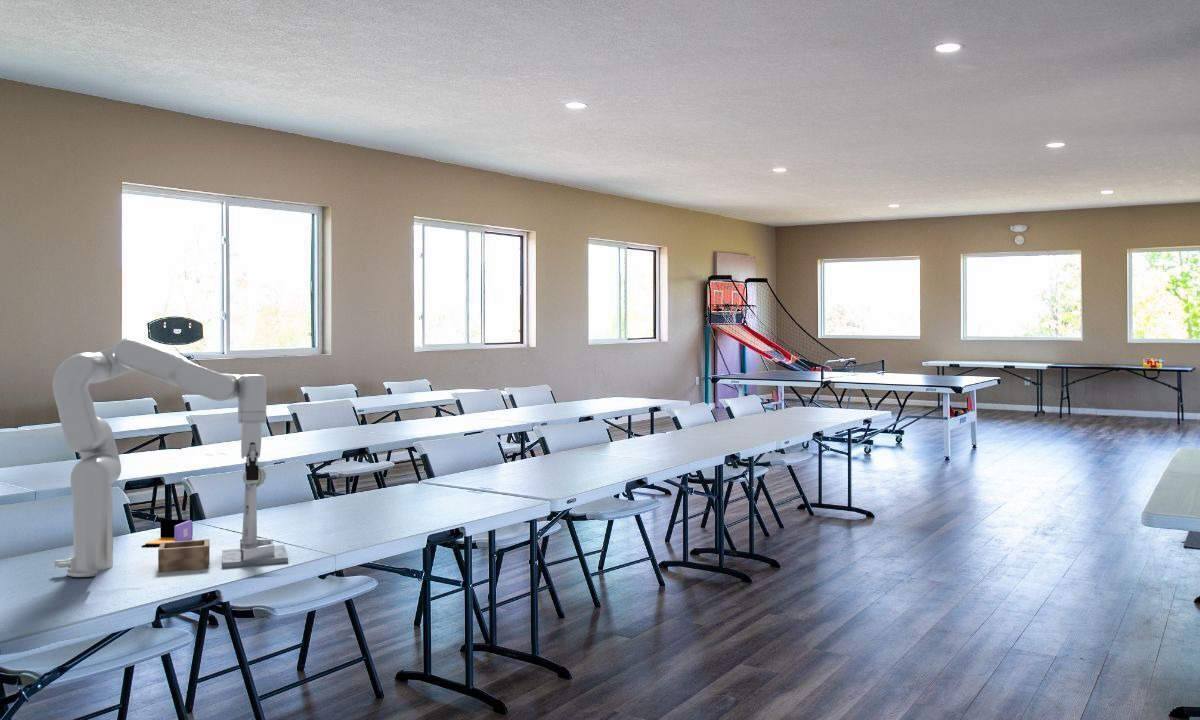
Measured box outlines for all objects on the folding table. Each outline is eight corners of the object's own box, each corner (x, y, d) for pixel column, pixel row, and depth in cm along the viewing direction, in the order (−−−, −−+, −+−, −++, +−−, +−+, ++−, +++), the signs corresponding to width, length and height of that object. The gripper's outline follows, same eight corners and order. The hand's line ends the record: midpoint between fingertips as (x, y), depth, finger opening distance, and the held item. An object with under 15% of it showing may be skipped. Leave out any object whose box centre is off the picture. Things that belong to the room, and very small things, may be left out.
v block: (221, 568, 245) (221, 551, 245) (222, 555, 262) (222, 539, 262) (288, 562, 252) (287, 546, 252) (284, 550, 269) (284, 535, 269)
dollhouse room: (197, 540, 285) (197, 518, 285) (179, 548, 273) (178, 525, 273) (160, 540, 285) (160, 518, 285) (139, 548, 273) (139, 525, 273)
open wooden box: (158, 572, 241) (158, 549, 241) (160, 564, 251) (160, 542, 251) (208, 568, 246) (208, 546, 246) (209, 560, 255) (209, 539, 255)
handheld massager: (236, 555, 254) (237, 466, 254) (249, 551, 260) (250, 464, 261) (253, 556, 253) (254, 467, 253) (266, 552, 259) (267, 464, 260)
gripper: (237, 416, 263) (237, 475, 263) (238, 419, 247) (237, 482, 247) (265, 415, 266) (264, 473, 266) (267, 419, 250) (267, 481, 250)
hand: (251, 477), depth 257 cm, fingers open, 9 cm apart
